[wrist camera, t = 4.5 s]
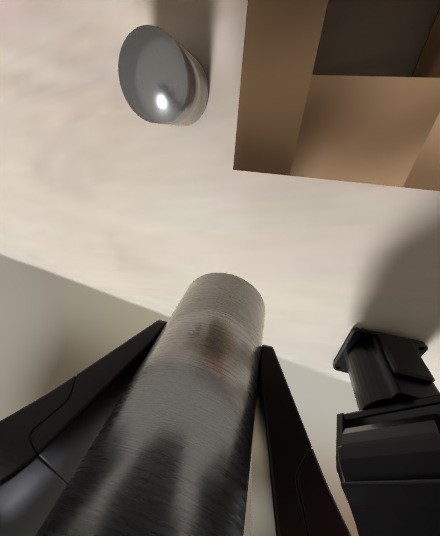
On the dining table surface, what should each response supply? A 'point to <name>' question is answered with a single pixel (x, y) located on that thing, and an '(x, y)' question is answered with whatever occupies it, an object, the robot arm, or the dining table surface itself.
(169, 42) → the short pin
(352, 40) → the dining table surface
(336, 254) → the dining table surface
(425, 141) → the hole block
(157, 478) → the tall pin
